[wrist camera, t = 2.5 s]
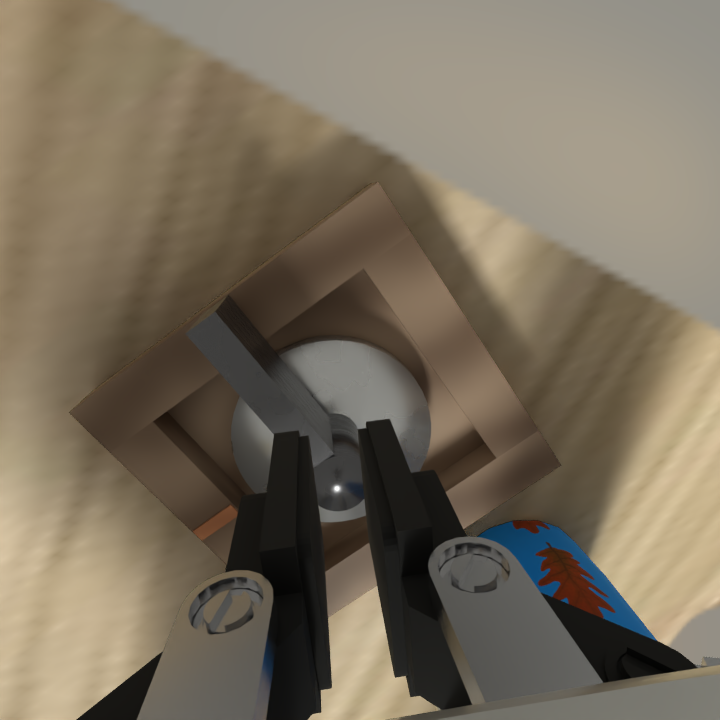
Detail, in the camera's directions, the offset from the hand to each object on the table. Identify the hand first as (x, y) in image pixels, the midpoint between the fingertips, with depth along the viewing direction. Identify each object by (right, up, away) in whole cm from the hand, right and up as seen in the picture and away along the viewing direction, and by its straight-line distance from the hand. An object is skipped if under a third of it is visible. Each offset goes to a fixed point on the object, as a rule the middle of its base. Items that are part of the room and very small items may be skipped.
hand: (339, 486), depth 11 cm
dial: (-2, 0, +18) cm, 18 cm away
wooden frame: (-1, -1, +20) cm, 20 cm away
